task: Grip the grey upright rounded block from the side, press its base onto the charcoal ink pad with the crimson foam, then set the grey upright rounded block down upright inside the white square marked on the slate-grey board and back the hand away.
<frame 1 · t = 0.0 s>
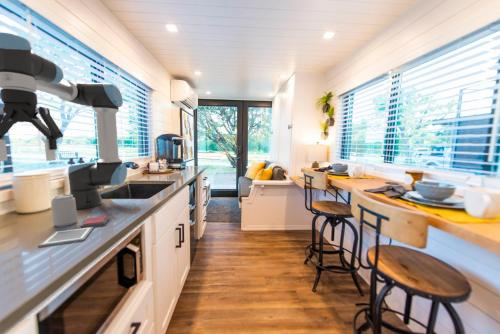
hand: (27, 160, 67), 28 cm above the countertop, tool pointing down, fingers open, 13 cm apart
target board: (69, 236, 77), on the countertop
grey upright rounded block: (65, 224, 89), on the countertop
ink pad: (95, 223, 90), on the countertop
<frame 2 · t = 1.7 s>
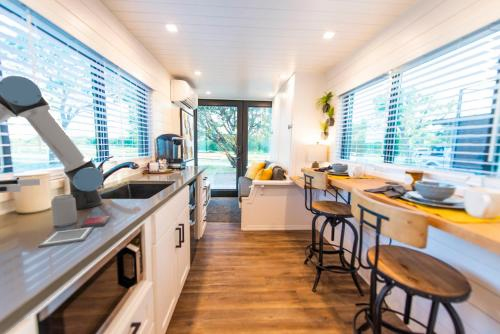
hand: (30, 184, 83), 17 cm above the countertop, tool horizontal, fingers open, 13 cm apart
nothing on the countertop moved.
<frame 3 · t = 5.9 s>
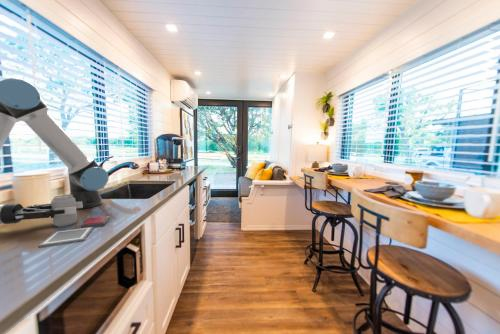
hand: (78, 207, 90), 7 cm above the countertop, tool horizontal, fingers closed on grey upright rounded block, 7 cm apart
grey upright rounded block: (65, 224, 89), on the countertop, touching gripper
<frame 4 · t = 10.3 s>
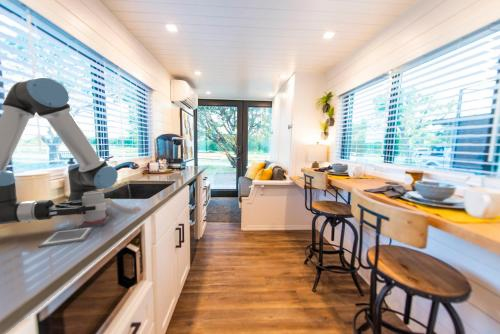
hand: (107, 203, 91), 8 cm above the countertop, tool horizontal, fingers closed on grey upright rounded block, 7 cm apart
grey upright rounded block: (95, 220, 90), point 1 cm above the countertop, touching gripper
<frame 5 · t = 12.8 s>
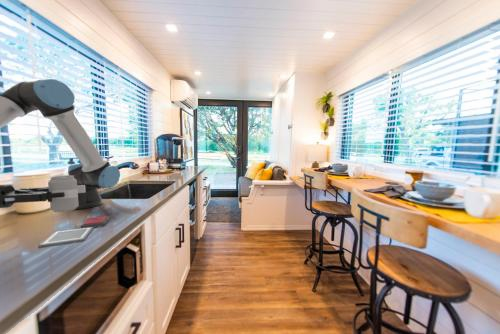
hand: (81, 190, 77), 16 cm above the countertop, tool horizontal, fingers closed on grey upright rounded block, 7 cm apart
grey upright rounded block: (65, 210, 75), point 10 cm above the countertop, touching gripper
when the fingers open (8 cm above the countertop, at t = 14.8 s): grey upright rounded block drops 1 cm, resting on target board.
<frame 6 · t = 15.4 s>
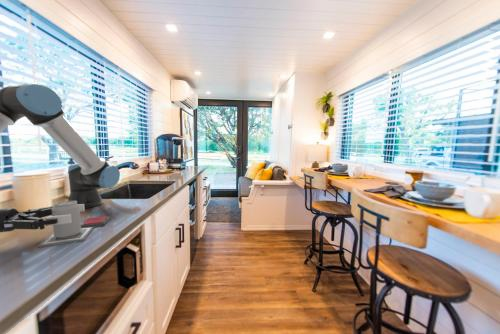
hand: (78, 212, 77), 8 cm above the countertop, tool horizontal, fingers open, 13 cm apart
grey upright rounded block: (68, 235, 77), resting on target board
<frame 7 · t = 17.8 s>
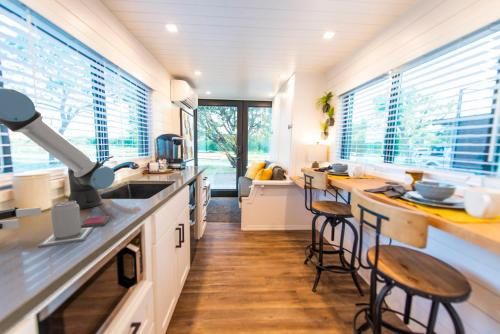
hand: (30, 216, 72), 9 cm above the countertop, tool horizontal, fingers open, 13 cm apart
nothing on the countertop moved.
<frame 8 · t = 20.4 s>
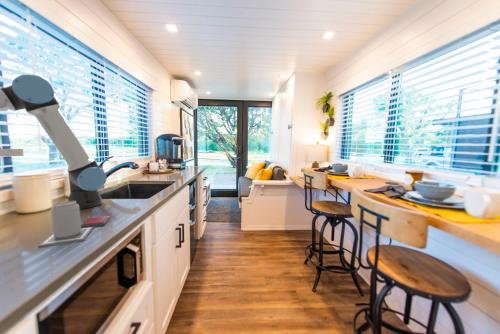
hand: (11, 153, 77), 30 cm above the countertop, tool horizontal, fingers open, 13 cm apart
nothing on the countertop moved.
at the end: grey upright rounded block 0.2 cm off-centre on the target board, point 0.4 cm above the target board's base; grey upright rounded block tilted 0°; the gripper is holding nothing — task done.
